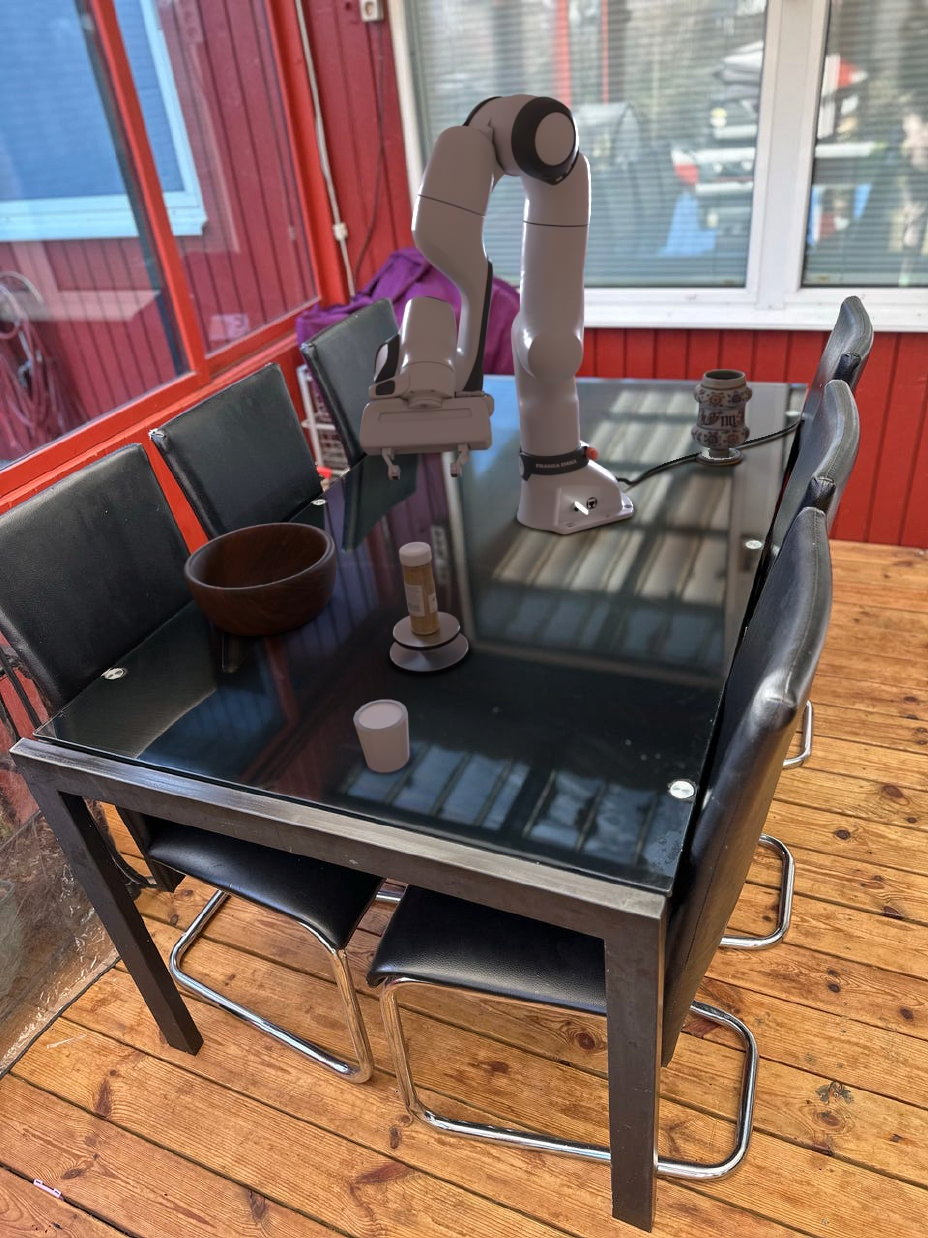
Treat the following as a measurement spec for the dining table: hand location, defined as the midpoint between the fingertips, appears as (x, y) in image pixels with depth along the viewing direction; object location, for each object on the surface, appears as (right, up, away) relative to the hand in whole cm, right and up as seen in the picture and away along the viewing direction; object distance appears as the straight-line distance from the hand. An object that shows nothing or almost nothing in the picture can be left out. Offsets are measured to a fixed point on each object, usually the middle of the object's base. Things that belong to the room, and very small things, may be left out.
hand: (424, 477), depth 133 cm
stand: (+1, -26, +2) cm, 27 cm away
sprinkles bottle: (0, -23, 0) cm, 23 cm away
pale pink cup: (-4, -39, -19) cm, 44 cm away
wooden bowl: (-27, -20, +19) cm, 38 cm away
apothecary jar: (+61, +13, +58) cm, 85 cm away
